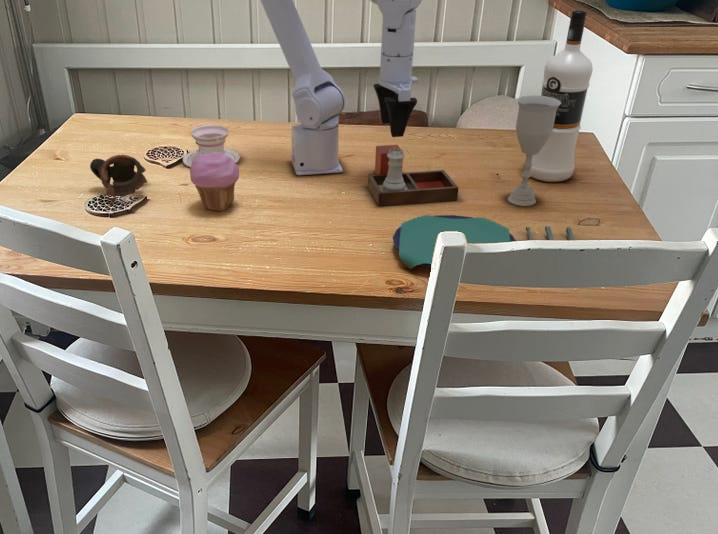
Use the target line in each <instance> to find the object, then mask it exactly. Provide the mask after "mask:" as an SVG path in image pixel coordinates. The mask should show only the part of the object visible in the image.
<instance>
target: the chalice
mask: <svg viewBox="0 0 718 534" xmlns="http://www.w3.org/2000/svg"><path fill="white" fill-rule="evenodd" d="M516 101H517V104H518V112H517V118H516V124H515V131H516V137H517V140H518V144H519V147H520V151H521V153H522V154H525V157H526V158H525V161H524V163H523V164H522V165H523V172H522V173H521V174H520V176H521V178H522V181H521V183H520V184H519V185H517V186H516V187H514V188H513V190H512V191H511V192H510V195H509V196H508V198H507V201H508V202H509V203H511V204H512V205H516V206H521V207H522V206H523V207H529V206H533V205H535V204H536V202H537V201H536V196H535V193H534V192H535V191H534V189H533V188H532V187H531V186H530V185H529V184H528V183H529V179H530V177H531V174H530V168H531V167H532V166H533V165H532V157H533V155H535V154H538V153H539V151H540V150H541V149H542V147H543V146H544V145H545V143H546V142H547V140H548V138H549V137H550V135H551V133H552V131H553V126H554V121H555V116H556V110H557V108H558V107H559V105H560V104H561V101H559V100H558V99H555V98H552V97H547V96H541V95H535V94H534V95H524V96H519V97H518V98H516Z"/></svg>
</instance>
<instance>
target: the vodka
mask: <svg viewBox="0 0 718 534" xmlns="http://www.w3.org/2000/svg"><path fill="white" fill-rule="evenodd" d="M587 14H588V11H587V10H586V9H585V10H584V9H574V10H571V14H570V20H569V25H568V29H567V36H566V40H565V41H566V42H565V44H564V49H562V50H561V51H559V52H557V53H555V54H554V55H552V56H551V57H549V58H548V60H547V61H546V63H545V65H544V68H543V69H544V72H543V79H542V87H541V93H540V96H547V97H552V98H555V99H558V100H559V101H561V104H560V105H559V107H558V108H557V110H556V116H555V121H554V126H553V131H552V133H551V135H550V137H549V138H548V140H547V142H546V143H545V145H544V146H543V147H542V149H541V150H540V151H539V153H538V154H535V155H533V157H532V165H533V166H532V167H531V168H530V174H531V176H530V177H531V178H532V179H534V180H536V181H541V182H546V183H559V182H560V183H561V182H563V181H564V182H565V181H566V180H569V179H570V178H571V177H572V176H573V174H574V171H575V166H576V165H575V157H576V147H577V141H578V137H579V133H580V130H581V122H582V117H583V112H584V108H585V102H586V98H587V93H588V89H589V87H590V81H591V78H592V74H593V70H594V69H593V63H592V60H591V59H590V58H588V57H587V56H586V55H585V54H584V53H583V52H582V51H581V45H582V39H583V34H584V30H585V24H586V19H587Z"/></svg>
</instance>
